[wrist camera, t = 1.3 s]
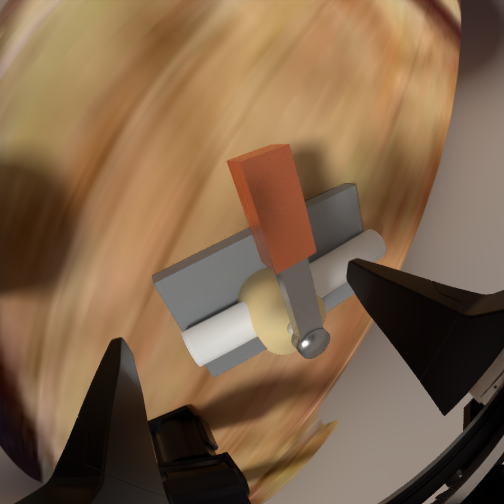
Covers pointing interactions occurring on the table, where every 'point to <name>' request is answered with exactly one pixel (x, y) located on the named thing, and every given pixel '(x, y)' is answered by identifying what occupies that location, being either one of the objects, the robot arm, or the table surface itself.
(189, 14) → the table surface
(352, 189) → the valve base
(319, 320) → the valve lever
